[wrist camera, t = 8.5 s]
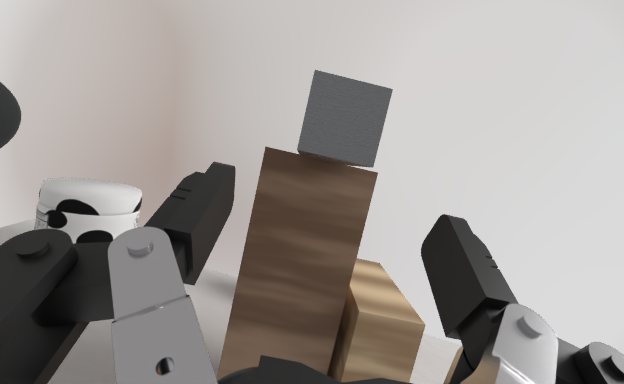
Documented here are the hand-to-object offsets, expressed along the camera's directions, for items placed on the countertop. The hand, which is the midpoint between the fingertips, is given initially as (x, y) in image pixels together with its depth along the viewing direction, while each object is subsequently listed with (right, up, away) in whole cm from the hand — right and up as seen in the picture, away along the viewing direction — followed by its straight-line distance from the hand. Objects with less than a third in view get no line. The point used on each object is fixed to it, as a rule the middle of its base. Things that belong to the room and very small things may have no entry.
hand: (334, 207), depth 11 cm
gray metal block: (0, +4, +16) cm, 17 cm away
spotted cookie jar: (-46, -16, +45) cm, 66 cm away
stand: (-4, -28, +23) cm, 36 cm away
